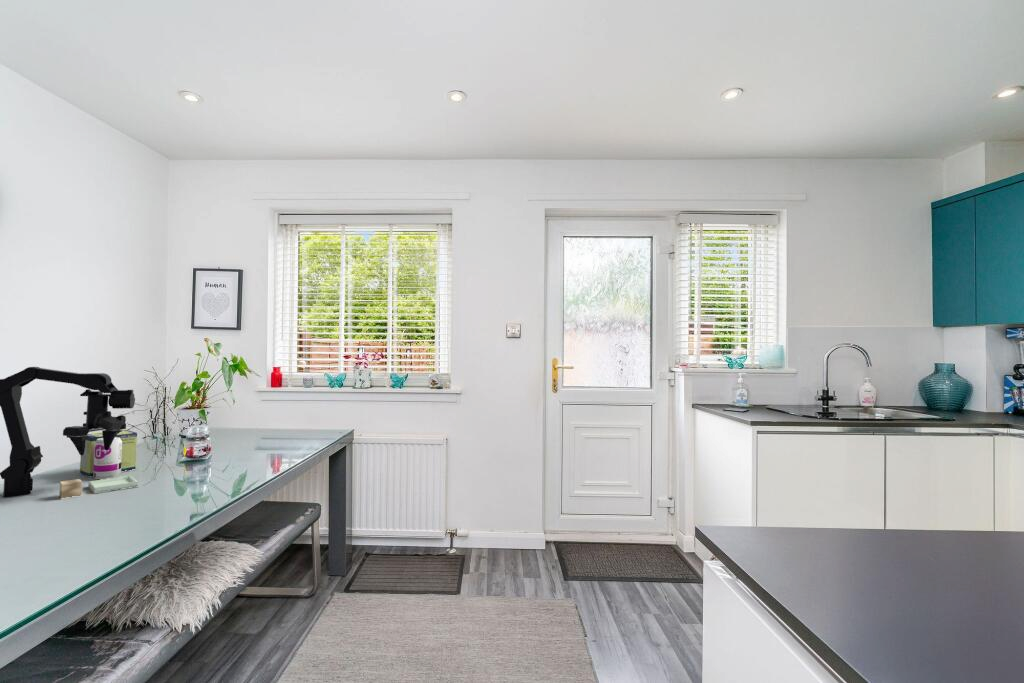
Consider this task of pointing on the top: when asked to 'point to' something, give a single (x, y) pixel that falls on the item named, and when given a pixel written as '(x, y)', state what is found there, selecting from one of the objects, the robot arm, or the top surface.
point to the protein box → (127, 452)
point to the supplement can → (107, 459)
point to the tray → (112, 484)
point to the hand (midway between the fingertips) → (94, 452)
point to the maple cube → (70, 488)
